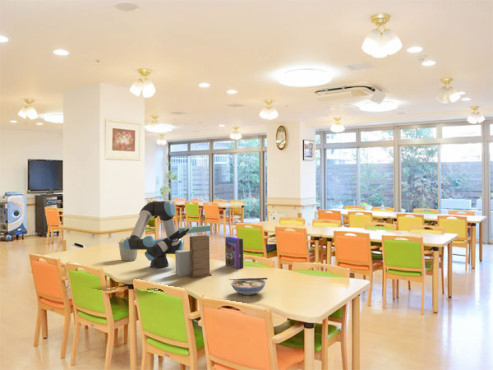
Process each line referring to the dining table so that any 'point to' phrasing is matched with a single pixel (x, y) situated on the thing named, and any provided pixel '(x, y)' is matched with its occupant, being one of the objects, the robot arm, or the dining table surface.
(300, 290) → the dining table surface
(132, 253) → the canister
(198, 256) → the pedestal
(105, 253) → the dining table surface
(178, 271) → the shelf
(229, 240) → the cereal box
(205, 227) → the mint green bar
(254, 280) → the ramen bowl
